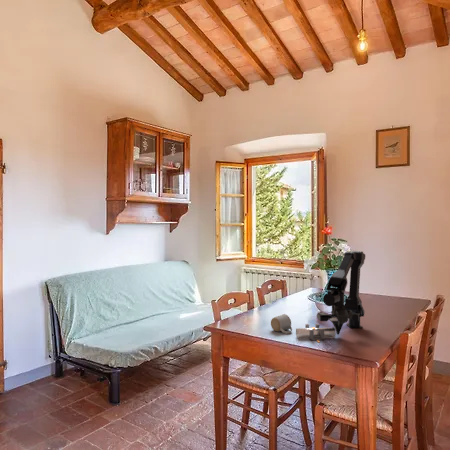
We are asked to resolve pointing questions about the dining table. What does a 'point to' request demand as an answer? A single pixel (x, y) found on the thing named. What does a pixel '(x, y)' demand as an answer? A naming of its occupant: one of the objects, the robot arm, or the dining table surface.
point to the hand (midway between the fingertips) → (337, 334)
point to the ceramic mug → (281, 323)
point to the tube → (305, 333)
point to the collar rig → (313, 333)
